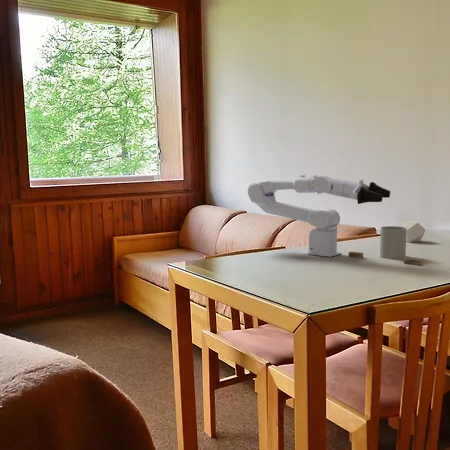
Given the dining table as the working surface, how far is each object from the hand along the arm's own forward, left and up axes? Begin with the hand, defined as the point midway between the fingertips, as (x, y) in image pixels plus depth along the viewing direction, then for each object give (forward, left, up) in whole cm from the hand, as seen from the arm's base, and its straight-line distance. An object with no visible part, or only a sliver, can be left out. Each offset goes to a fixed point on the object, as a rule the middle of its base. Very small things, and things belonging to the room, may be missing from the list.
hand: (386, 196), depth 164 cm
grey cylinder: (0, +8, -21) cm, 23 cm away
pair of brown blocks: (0, 0, -21) cm, 21 cm away
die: (-7, +44, -21) cm, 49 cm away
